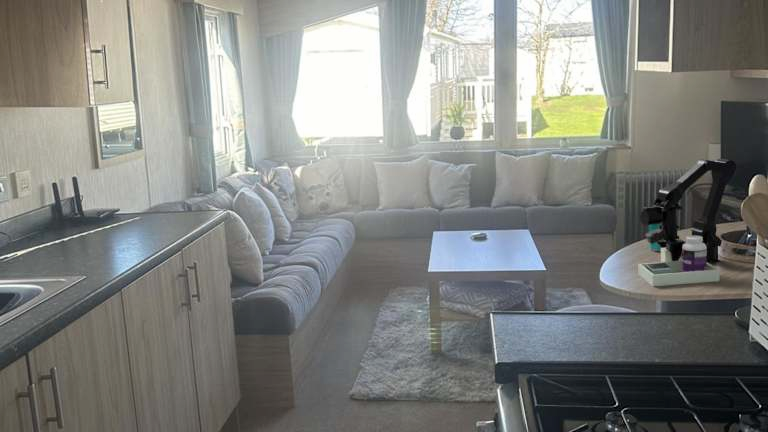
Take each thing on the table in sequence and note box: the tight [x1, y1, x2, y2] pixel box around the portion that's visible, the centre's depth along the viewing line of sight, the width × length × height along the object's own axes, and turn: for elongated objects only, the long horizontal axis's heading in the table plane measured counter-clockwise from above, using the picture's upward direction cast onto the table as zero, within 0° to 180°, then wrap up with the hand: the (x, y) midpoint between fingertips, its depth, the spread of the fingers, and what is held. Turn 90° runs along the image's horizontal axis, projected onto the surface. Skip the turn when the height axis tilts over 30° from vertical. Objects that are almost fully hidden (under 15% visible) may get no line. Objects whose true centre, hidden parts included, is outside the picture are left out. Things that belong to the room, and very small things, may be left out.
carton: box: [660, 247, 680, 262], centre depth 285 cm, size 5×5×8 cm
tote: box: [637, 260, 720, 287], centre depth 270 cm, size 23×16×4 cm
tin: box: [646, 263, 672, 275], centre depth 271 cm, size 7×7×5 cm
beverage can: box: [648, 223, 661, 252], centre depth 309 cm, size 6×6×15 cm
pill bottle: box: [681, 235, 708, 272], centre depth 269 cm, size 8×8×14 cm
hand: (669, 262), depth 285 cm, fingers open, 9 cm apart
